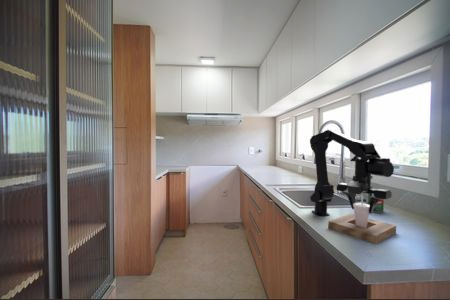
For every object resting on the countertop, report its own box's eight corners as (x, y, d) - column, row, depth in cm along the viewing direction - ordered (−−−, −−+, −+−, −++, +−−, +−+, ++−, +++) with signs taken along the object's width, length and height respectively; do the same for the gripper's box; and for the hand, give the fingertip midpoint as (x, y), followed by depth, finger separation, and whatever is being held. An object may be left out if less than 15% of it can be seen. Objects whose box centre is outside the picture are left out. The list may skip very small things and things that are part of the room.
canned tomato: (373, 212, 117) (373, 191, 117) (362, 208, 125) (363, 188, 125) (387, 212, 118) (388, 191, 117) (376, 207, 126) (376, 188, 125)
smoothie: (370, 227, 95) (371, 193, 94) (370, 232, 89) (371, 196, 89) (352, 224, 98) (353, 191, 97) (351, 229, 92) (352, 194, 92)
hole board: (328, 228, 96) (328, 221, 96) (350, 219, 106) (350, 213, 106) (375, 244, 81) (376, 235, 81) (395, 232, 91) (396, 225, 91)
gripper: (330, 171, 96) (328, 208, 96) (380, 178, 80) (378, 221, 81) (344, 170, 102) (342, 204, 103) (392, 175, 87) (391, 216, 87)
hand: (361, 211), depth 93 cm, fingers closed on smoothie, 6 cm apart
